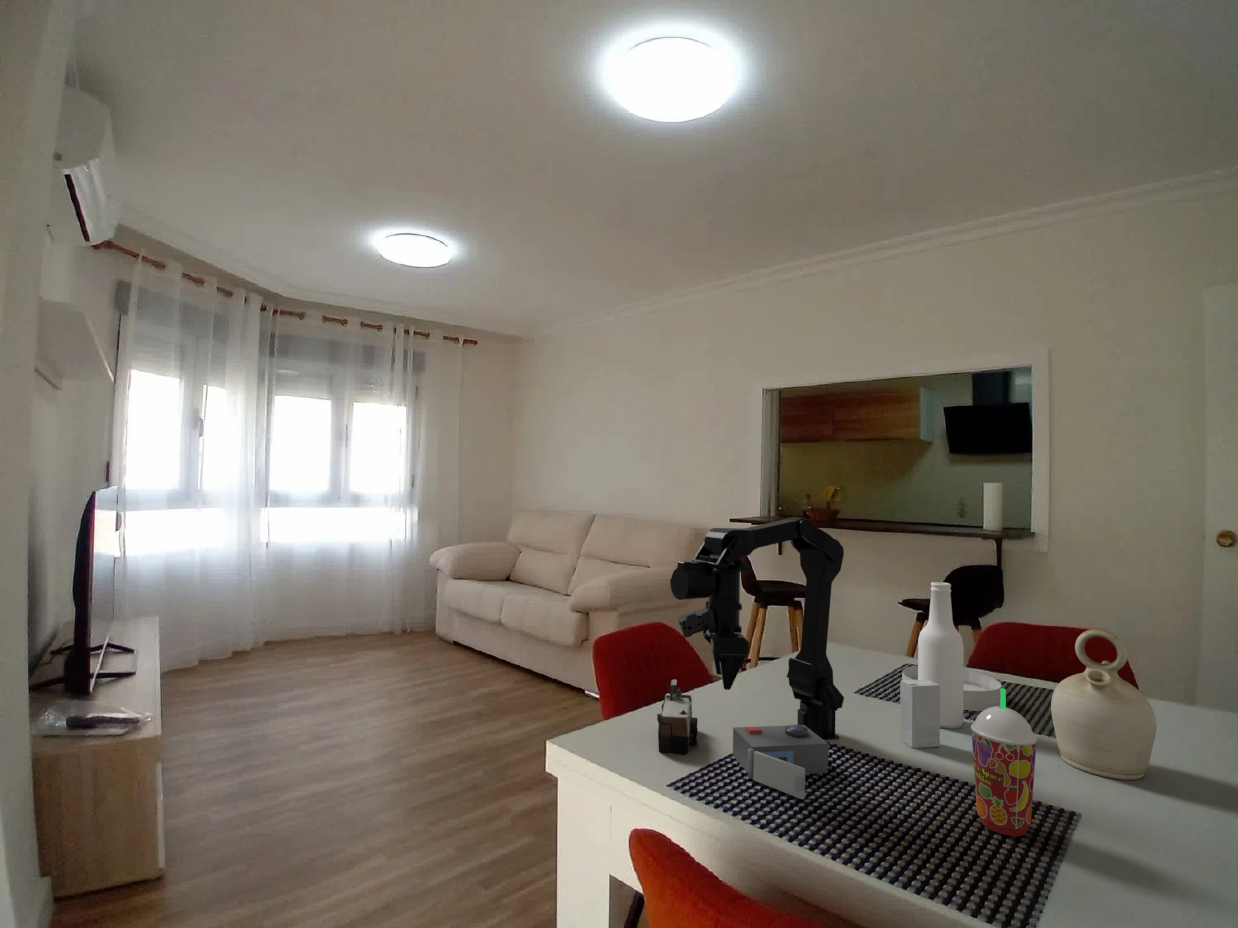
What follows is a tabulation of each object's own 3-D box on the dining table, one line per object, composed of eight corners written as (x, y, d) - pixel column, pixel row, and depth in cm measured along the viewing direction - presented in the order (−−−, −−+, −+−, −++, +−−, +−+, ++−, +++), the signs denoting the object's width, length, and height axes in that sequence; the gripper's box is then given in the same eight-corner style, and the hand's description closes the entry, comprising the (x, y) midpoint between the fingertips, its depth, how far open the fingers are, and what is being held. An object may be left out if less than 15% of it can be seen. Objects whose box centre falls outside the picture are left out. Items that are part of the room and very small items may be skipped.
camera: (695, 758, 114) (697, 702, 114) (654, 754, 115) (656, 698, 116) (700, 728, 129) (701, 678, 129) (664, 725, 130) (665, 676, 131)
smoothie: (958, 812, 96) (959, 680, 97) (1010, 812, 97) (1009, 680, 98) (995, 842, 88) (995, 697, 89) (1051, 841, 89) (1050, 697, 90)
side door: (805, 797, 99) (806, 767, 100) (801, 800, 98) (801, 770, 98) (749, 776, 106) (750, 747, 107) (744, 778, 105) (745, 750, 106)
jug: (1130, 792, 105) (1128, 641, 107) (1033, 756, 119) (1033, 623, 120) (1174, 775, 112) (1172, 634, 114) (1078, 744, 126) (1077, 618, 127)
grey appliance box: (803, 751, 118) (804, 719, 118) (828, 773, 109) (828, 738, 109) (732, 755, 116) (733, 721, 116) (752, 777, 106) (752, 741, 107)
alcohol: (959, 732, 130) (959, 587, 132) (913, 722, 136) (914, 582, 137) (966, 721, 137) (966, 583, 139) (922, 712, 143) (923, 579, 144)
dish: (911, 679, 170) (911, 660, 171) (1006, 696, 158) (1006, 676, 158) (892, 699, 152) (892, 678, 153) (998, 720, 140) (997, 697, 140)
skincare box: (926, 739, 126) (926, 678, 127) (941, 748, 122) (941, 684, 122) (898, 740, 125) (898, 678, 126) (912, 749, 121) (912, 685, 121)
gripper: (676, 587, 126) (675, 666, 125) (685, 604, 108) (683, 696, 107) (732, 589, 126) (731, 667, 125) (750, 605, 107) (749, 698, 107)
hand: (723, 681), depth 116 cm, fingers open, 9 cm apart
